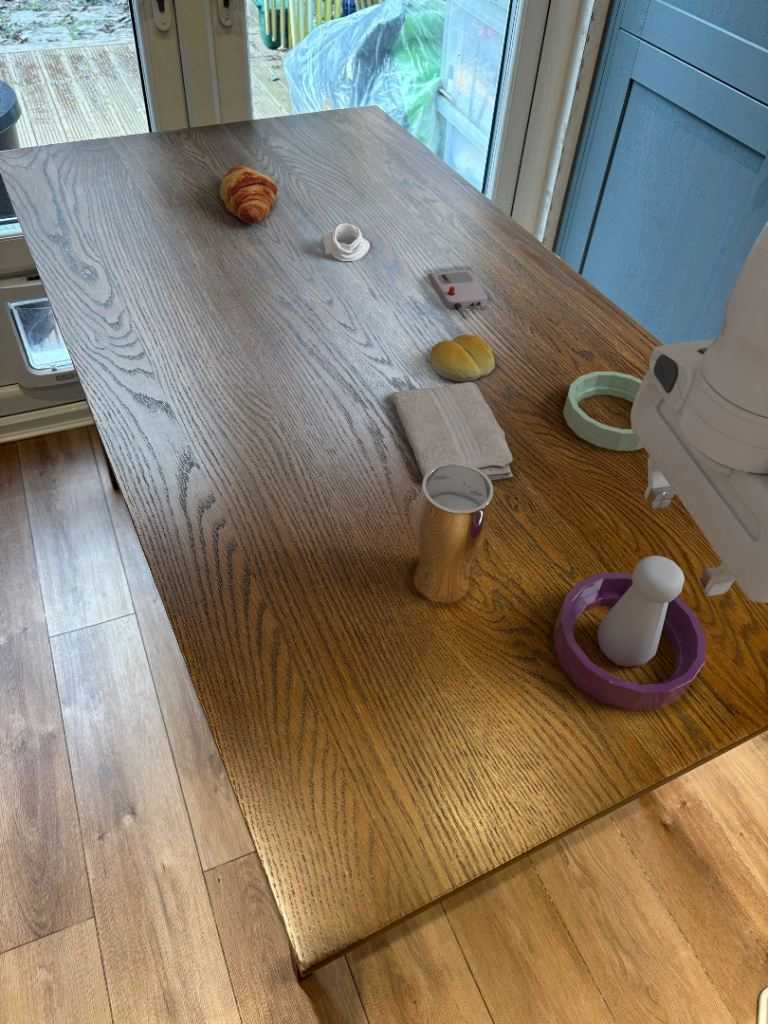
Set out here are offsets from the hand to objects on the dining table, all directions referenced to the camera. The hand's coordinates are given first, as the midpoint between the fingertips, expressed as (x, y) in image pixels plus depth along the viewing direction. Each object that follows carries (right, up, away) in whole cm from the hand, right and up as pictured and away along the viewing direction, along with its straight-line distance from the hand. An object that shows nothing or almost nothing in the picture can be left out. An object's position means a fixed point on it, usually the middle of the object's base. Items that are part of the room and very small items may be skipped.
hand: (682, 543), depth 62 cm
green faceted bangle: (+5, +14, +37) cm, 40 cm away
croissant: (-49, +59, +75) cm, 107 cm away
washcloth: (-16, +11, +34) cm, 39 cm away
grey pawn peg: (-1, -11, +13) cm, 17 cm away
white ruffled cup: (-31, +46, +65) cm, 86 cm away
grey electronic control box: (-13, +37, +58) cm, 70 cm away
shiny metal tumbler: (-19, -5, +18) cm, 26 cm away
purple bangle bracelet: (-1, -12, +13) cm, 17 cm away
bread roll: (-14, +23, +45) cm, 52 cm away
